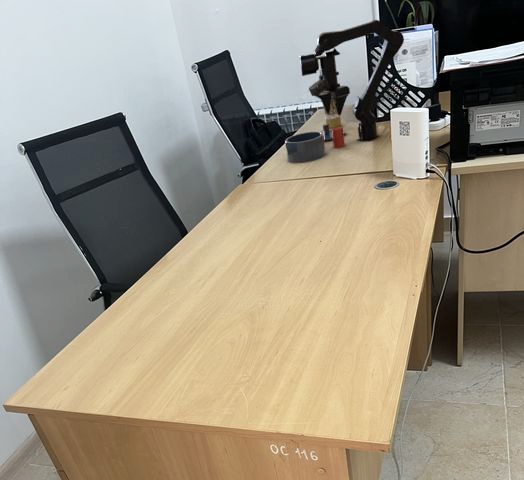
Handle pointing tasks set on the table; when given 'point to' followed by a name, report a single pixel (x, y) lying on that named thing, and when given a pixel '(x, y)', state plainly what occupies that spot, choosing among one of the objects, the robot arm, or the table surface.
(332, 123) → the paper tube
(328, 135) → the lid
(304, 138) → the pot
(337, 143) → the cylinder
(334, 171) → the table surface
